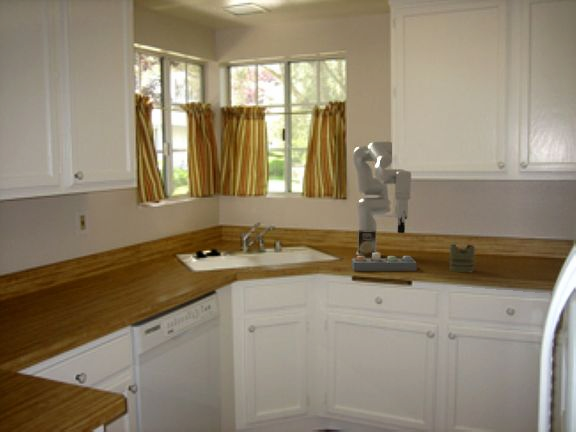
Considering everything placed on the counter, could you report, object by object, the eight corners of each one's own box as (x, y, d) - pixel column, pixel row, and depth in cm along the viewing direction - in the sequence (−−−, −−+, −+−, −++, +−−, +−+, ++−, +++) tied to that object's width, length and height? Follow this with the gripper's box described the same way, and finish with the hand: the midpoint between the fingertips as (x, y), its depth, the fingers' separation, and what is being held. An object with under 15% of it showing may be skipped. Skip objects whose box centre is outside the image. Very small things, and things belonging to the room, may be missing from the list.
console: (351, 266, 311) (351, 258, 311) (411, 266, 311) (411, 258, 311) (353, 270, 300) (354, 262, 299) (416, 270, 299) (416, 262, 299)
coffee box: (357, 262, 323) (357, 231, 321) (357, 260, 329) (357, 229, 327) (375, 262, 322) (375, 231, 320) (375, 260, 328) (375, 230, 326)
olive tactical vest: (476, 247, 292) (451, 247, 294) (475, 273, 294) (450, 272, 295) (473, 244, 303) (449, 243, 305) (472, 268, 305) (448, 267, 306)
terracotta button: (356, 264, 307) (356, 255, 307) (364, 264, 307) (364, 255, 307) (357, 265, 303) (357, 257, 303) (365, 265, 303) (365, 257, 303)
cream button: (371, 261, 307) (371, 252, 307) (379, 261, 307) (380, 252, 307) (372, 262, 303) (372, 253, 303) (381, 262, 303) (381, 254, 303)
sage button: (386, 264, 307) (387, 255, 307) (395, 264, 307) (395, 255, 307) (388, 265, 303) (388, 257, 303) (396, 265, 303) (396, 257, 303)
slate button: (402, 264, 307) (402, 255, 307) (410, 264, 307) (410, 255, 307) (403, 265, 303) (403, 257, 303) (411, 265, 303) (411, 257, 303)
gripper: (392, 194, 314) (391, 230, 316) (397, 197, 299) (395, 235, 302) (407, 194, 314) (405, 230, 316) (413, 198, 299) (411, 235, 302)
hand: (401, 232), depth 309 cm, fingers closed
